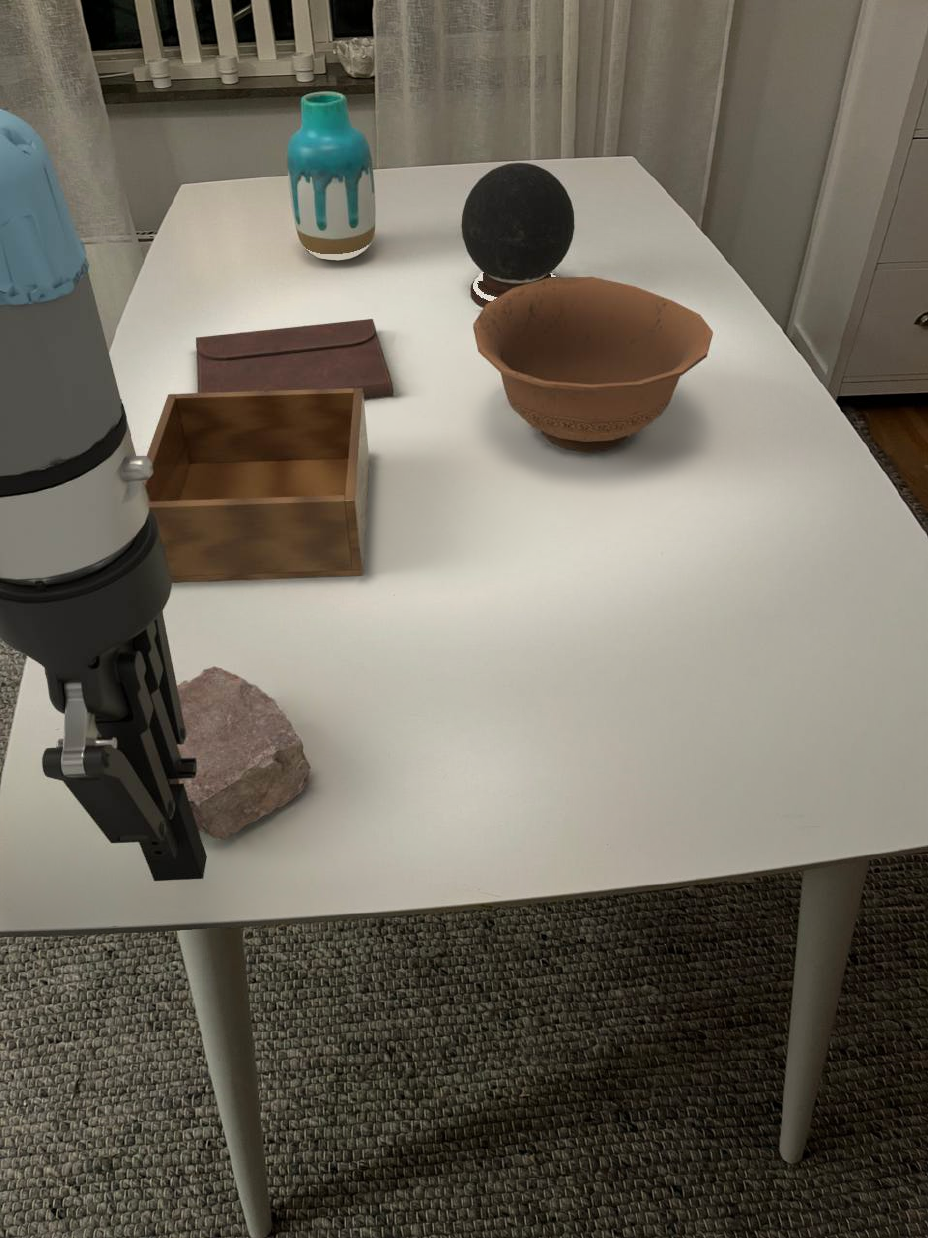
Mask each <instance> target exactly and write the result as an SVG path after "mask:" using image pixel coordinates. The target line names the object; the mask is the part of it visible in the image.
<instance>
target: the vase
mask: <svg viewBox="0 0 928 1238" xmlns="http://www.w3.org/2000/svg"><path fill="white" fill-rule="evenodd" d="M300 110H301V126H300V128H299V129H298V130H297V131H295V132H294V133H293V134H292V135H291V136H290V138H289V141H288V144H287V151H286V165H287V178H288V179H287V180H288V188H289V196H290V197H289V198H290V204H291V211H292V216H293V220H294V225H295V229H296V233H297V237H298V240H299V242H300V243H301V245H302V247H303V248H304V247H305V248H306V249H308V250H310V251H312V252H316V253H320V254H343V253H350V252H354V251H357V250H360V249H362V248H364V247H366V246H367V245H369V244H370V243H371V242H373V240H374V237H375V234H376V233H375V231H376V214H377V213H376V189H375V188H376V187H375V176H374V166H373V159H372V153H371V148H370V144H369V142H368V140H367V137H366V136H365V134H364V133H363V132H362V131H361V129H358V128H357V127H355V126H353V125H352V123H351V120H350V115H349V108H348V101H347V98H346V96H345V94H343V93H341V92H336V91H316V92H311V93H307V94H305V95H303V96H302V97H301V100H300ZM371 244H372V243H371ZM305 248H304V249H305ZM306 249H305V250H306Z"/></svg>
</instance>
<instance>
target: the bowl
mask: <svg viewBox="0 0 928 1238" xmlns="http://www.w3.org/2000/svg"><path fill="white" fill-rule="evenodd" d="M472 330H473V333H474V338H475V343H476V347H477V348H476V349H477V352H478V353H479V354H480V355H481V356H482V357H483V358H485V360H486V361H487V362H489V364H490V365H492V366H493V367H494V368H495V369H496V370H497V371H498V372H499V373H500V376H501V380H502V381H501V382H502V384H503V385H502V386H503V389H504V392H505V396H506V399H507V401H508V403H509V406H510V407H511V409H512V410H513V411H514V412H515V413H516V414H518V416H520V418H522V419H523V421H525V422H526V423H527V424H528V425H529V426H531V428H534V429H536V430H538V431H540V434H541V435H542V436H543V437H544V438H545V439H546V440H548V441H549V443H551V444H553V445H554V446H557V447H560V448H562V449H565V450H568V451H575V452H581V453H591V452H602V451H605V450H609V449H612V448H615V447H618V446H619V445H621V443H623V442H624V441H626V440H627V439H628V438H629V435H634V434H636V433H638V432H641V431H642V430H644V429H645V428H646V427H647V426H649V425H650V424H652V423H653V422H654V421H656V420H657V419H658V418H659V417H660V416H661V415H662V414H663V413H664V412H665V411H666V409H667V408H668V406H669V404H670V402H671V401H672V398H673V396H674V393H675V391H676V387H677V385H678V382H679V380H680V378H681V377H682V376H683V375H685V374H686V373H688V371H690V370H691V369H693V368H694V367H695V366H696V365H698V364H699V363H700V362H702V361H704V359H706V358H707V357H708V353H709V351H710V346H711V342H712V340H713V335H714V331H713V330H712V328H711V327H710V326H709V325H708V323H707V321H706V320H705V319H704V318H703V316H702V315H701V314H700V313H697V312H696V311H694V310H692V309H689V308H687V307H686V306H684V305H682V304H680V303H678V302H676V301H674V300H672V299H670V298H667V297H664V296H661V295H659V294H656V293H653V292H651V291H648V290H647V289H642V288H641V287H638V286H635V285H631V284H626V283H621V282H618V281H613V280H609V279H603V278H599V277H596V276H595V277H594V276H560V277H559V276H557V277H550V278H547V279H543V280H539V281H536V282H532V283H529V284H525V285H522V286H518V287H514V288H512V289H510V290H509V291H507V292H506V293H504V294H502V295H501V296H499V297H497V298H496V299H494V300H493V301H491V302H489V303H488V304H486V305H485V307H484V308H482V310H481V311H480V313H479V314H478V316H477V318H476V319H475V320H474V322H473V324H472Z"/></svg>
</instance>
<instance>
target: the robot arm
mask: <svg viewBox="0 0 928 1238" xmlns="http://www.w3.org/2000/svg"><path fill="white" fill-rule="evenodd" d="M61 187H62V186H61V184H60V181H59V179H58V176H57V173H56V170H55V166H54V163H53V161H52V158H51V155H50V153H49V150H48V148H47V146H46V145H45V142H44V141H43V139H42V137H41V136H40V135H39V134H38V132H36V130H35V129H34V128H33V127H32V126H31V125H30V124H28V122H27V121H25V120H24V119H22V118H20V117H19V116H17V115H15V114H13V113H12V112H10V111H8V110H4V109H2V108H0V640H1V641H2V642H3V643H4V644H6V645H7V646H8V647H10V648H12V649H13V650H15V651H16V652H19V653H21V654H23V655H25V656H26V657H28V658H30V659H31V660H33V661H35V662H36V663H38V664H39V665H41V667H43V668H44V675H45V679H46V682H47V683H46V684H47V690H48V697H49V699H50V703H51V704H52V706H53V708H54V709H55V710H56V711H57V712H59V713H61V714H63V715H64V718H63V719H64V721H63V737H62V738H58V740H57V741H56V744H55V747H46V748H45V750H44V752H43V754H42V758H41V766H42V772H43V774H44V776H45V777H47V778H49V779H53V780H58V781H62V783H64V785H65V786H66V788H67V789H68V790H69V791H70V792H71V794H72V795H73V796H74V797H75V799H76V800H77V802H78V803H79V804H80V805H81V807H82V808H83V809H84V810H85V812H86V813H87V815H88V816H89V817H90V818H91V820H92V821H93V822H94V823H95V825H96V826H97V827H98V828H99V830H100V831H101V832H102V834H103V835H104V836H105V837H106V839H107V840H108V841H109V843H111V844H129V843H131V844H132V843H138V844H139V846H140V849H141V852H142V855H143V856H144V859H145V861H146V864H147V866H148V869H149V871H150V874H151V877H152V880H153V882H166V881H186V880H187V881H188V880H190V881H191V880H204V876H205V870H206V864H207V859H208V855H207V852H206V849H205V846H204V843H203V840H202V837H201V834H200V830H198V827H197V824H196V821H195V818H194V815H193V812H192V809H191V806H190V803H189V799H188V796H187V793H186V790H185V787H184V784H180V783H179V780H178V779H186V778H195V776H196V772H197V762H196V758H181V755H180V752H179V749H178V746H177V745H179V744H184V741H185V739H186V729H185V725H184V720H183V715H182V710H181V705H180V699H179V694H178V689H177V686H178V685H177V680H176V673H175V669H174V665H173V659H172V654H171V648H170V643H169V637H168V633H167V627H166V623H165V617H164V609H165V608H166V606H167V604H168V602H169V600H170V596H171V593H172V588H173V587H172V586H173V582H172V577H171V572H170V568H169V565H168V561H167V558H166V554H165V550H164V547H163V543H162V540H161V536H160V532H159V529H158V525H157V522H156V519H155V517H154V515H153V513H152V512H151V511H150V509H149V504H150V502H149V498H148V494H147V491H146V487H145V483H144V480H147V479H149V478H150V477H151V475H152V474H153V466H152V462H151V461H150V459H149V458H148V457H147V455H137V454H136V453H137V452H136V450H135V445H134V442H133V439H132V433H131V428H130V426H129V423H128V422H129V421H128V418H127V417H128V416H127V413H126V409H125V406H124V403H123V400H122V398H121V394H120V390H119V386H118V383H117V379H116V375H115V371H114V367H113V363H112V360H111V356H110V352H109V347H108V344H107V340H106V335H105V331H104V329H103V325H102V321H101V317H100V312H99V309H98V304H97V301H96V297H95V293H94V289H93V285H92V281H91V278H90V274H89V269H90V263H89V261H88V260H89V259H88V258H87V252H86V247H85V243H84V242H83V240H82V238H81V237H80V236H79V235H78V234H77V230H76V228H75V224H74V222H73V219H72V216H71V213H70V210H69V207H68V204H67V202H66V199H65V196H64V192H63V189H62V188H61Z"/></svg>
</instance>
